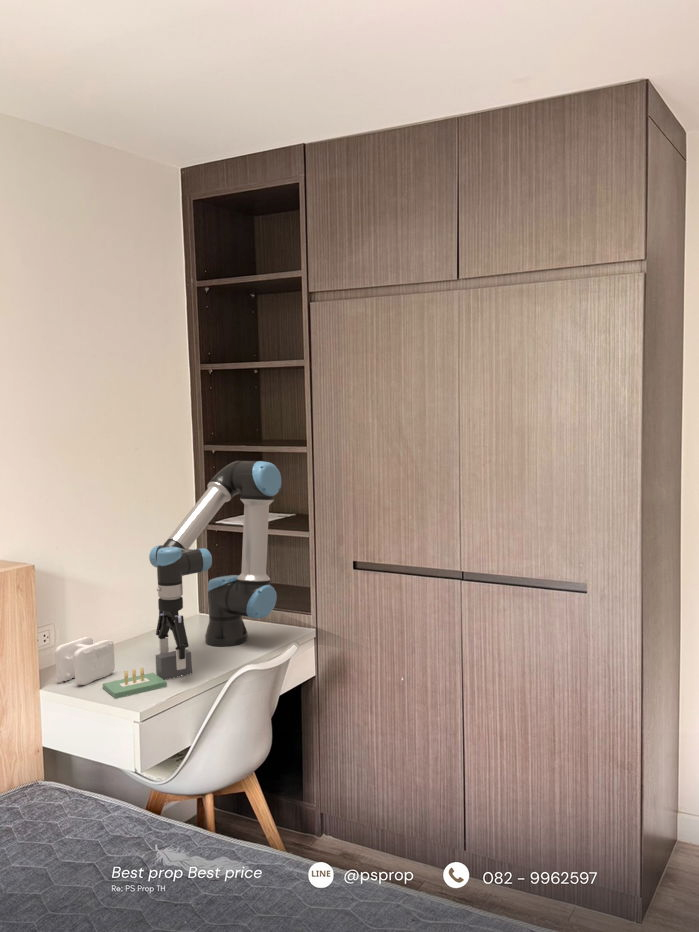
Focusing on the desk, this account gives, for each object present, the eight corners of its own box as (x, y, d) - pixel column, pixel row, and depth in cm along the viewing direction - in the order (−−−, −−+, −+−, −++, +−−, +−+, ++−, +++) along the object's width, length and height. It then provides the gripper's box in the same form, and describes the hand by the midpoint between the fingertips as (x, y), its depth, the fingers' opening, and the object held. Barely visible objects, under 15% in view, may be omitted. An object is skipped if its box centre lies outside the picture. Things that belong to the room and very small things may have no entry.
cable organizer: (93, 669, 274) (91, 634, 273) (116, 674, 269) (114, 638, 268) (56, 683, 262) (54, 647, 261) (80, 688, 256) (78, 651, 255)
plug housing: (186, 670, 271) (185, 648, 270) (192, 673, 267) (191, 652, 266) (156, 676, 265) (155, 655, 264) (162, 680, 261) (160, 658, 261)
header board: (153, 677, 265) (152, 660, 264) (166, 686, 256) (165, 668, 255) (102, 688, 256) (101, 670, 255) (115, 698, 247) (114, 680, 246)
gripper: (144, 592, 272) (146, 656, 273) (174, 606, 251) (177, 675, 253) (166, 588, 276) (168, 652, 278) (198, 602, 256) (200, 671, 257)
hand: (172, 663), depth 265 cm, fingers open, 13 cm apart
